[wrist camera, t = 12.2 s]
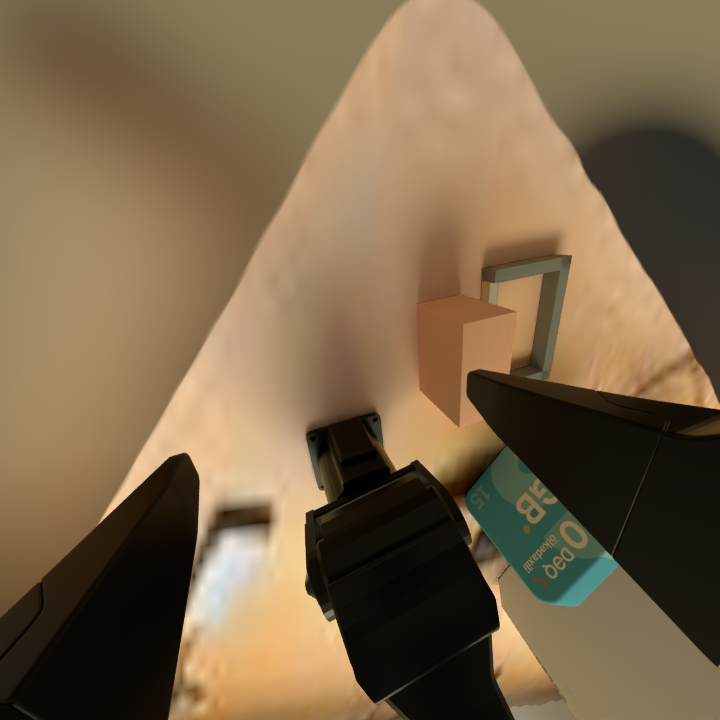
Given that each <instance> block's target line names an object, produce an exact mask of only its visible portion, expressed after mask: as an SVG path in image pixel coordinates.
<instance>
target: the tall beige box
mask: <svg viewBox="0 0 720 720" xmlns="http://www.w3.org/2000/svg"><path fill="white" fill-rule="evenodd" d="M417 310H418V342H419V375H420V391H421V392H422V393H423V394H424V395H426V396H427V397H428V398H429V399H430V400H431V401H432V402H433V403H434V404H435V405H436V406H437V407H438V408H439V409H440V410H441V411H442V412H443V413H444V414H445V415H446V416H447V417H448V418H449V419H451V420H452V421H453V422H454V423H455V424H456V425H457V426H458V427H459V428H461V427H464V426H467V425H470V424H473V423H476V422H479V421H482V420H484V419H483V417H482V416H481V415H480V413H479V412H478V411H477V410H476V408H475V407H474V406H473V404H472V403H471V402H470V400H469V399H468V397H467V394H466V387H467V374H468V373H469V372H470V371H474V370H477V369H483V370H488V371H493V372H499V373H504V374H510V366H511V357H512V349H513V340H514V332H515V324H516V315H517V312H516V311H513V310H510V309H507V308H503V307H500V306H497V305H494V304H490V303H487V302H484V301H481V300H477V299H474V298H471V297H467V296H464V295H457V296H452V297H447V298H442V299H438V300H433V301H428V302H423V303H418V304H417Z"/></svg>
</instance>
